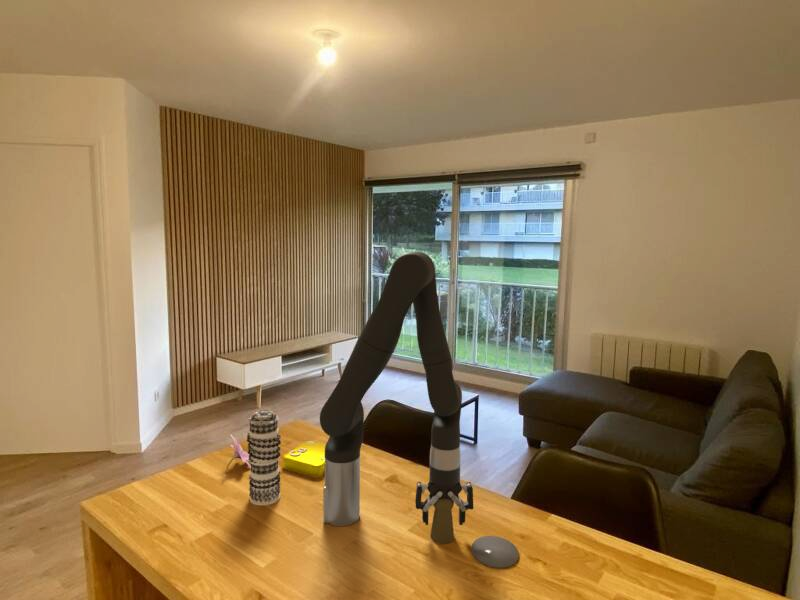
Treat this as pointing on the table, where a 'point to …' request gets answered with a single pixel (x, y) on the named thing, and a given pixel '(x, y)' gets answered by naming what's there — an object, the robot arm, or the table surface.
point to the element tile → (306, 459)
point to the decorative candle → (264, 458)
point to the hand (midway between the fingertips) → (443, 523)
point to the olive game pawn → (442, 522)
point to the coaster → (495, 551)
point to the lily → (239, 452)
